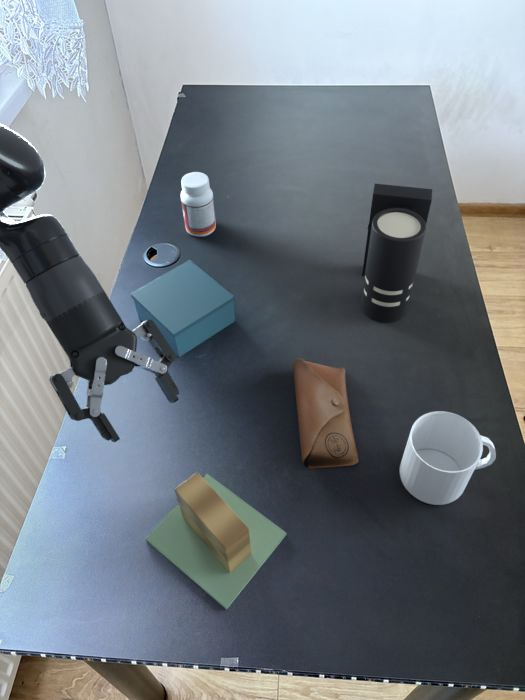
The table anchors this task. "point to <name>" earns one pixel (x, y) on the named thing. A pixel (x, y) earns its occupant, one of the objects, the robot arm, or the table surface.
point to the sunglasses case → (323, 416)
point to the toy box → (185, 306)
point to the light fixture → (393, 249)
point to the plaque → (214, 521)
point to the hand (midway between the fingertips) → (146, 420)
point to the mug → (442, 457)
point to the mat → (199, 560)
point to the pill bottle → (197, 204)
